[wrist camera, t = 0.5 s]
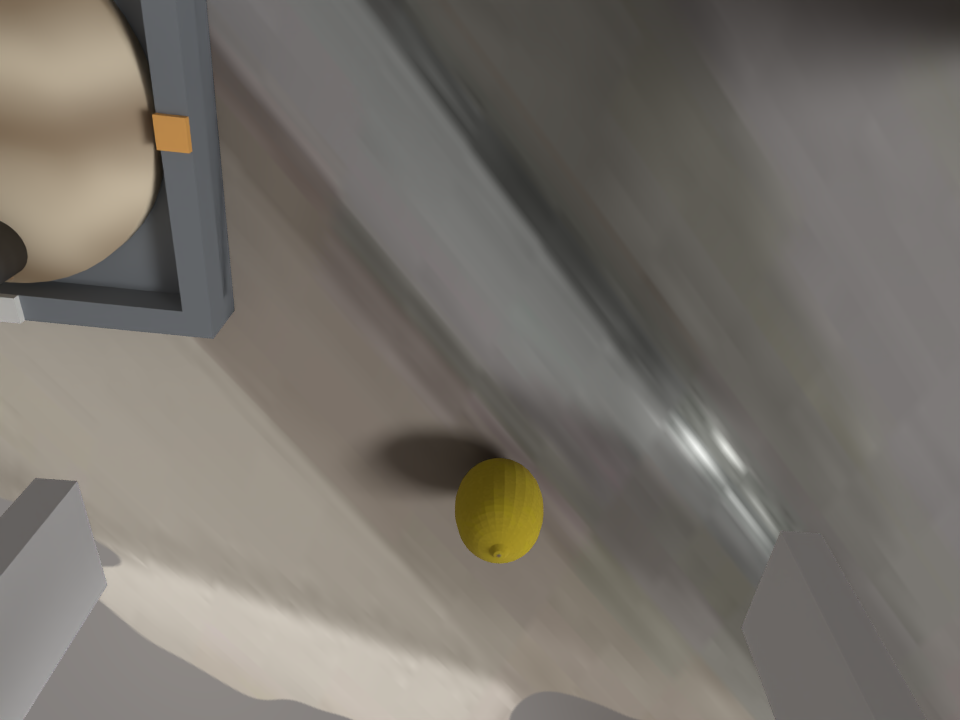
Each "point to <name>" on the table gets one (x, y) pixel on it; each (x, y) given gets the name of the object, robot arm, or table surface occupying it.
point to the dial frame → (159, 204)
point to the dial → (72, 137)
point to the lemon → (499, 510)
